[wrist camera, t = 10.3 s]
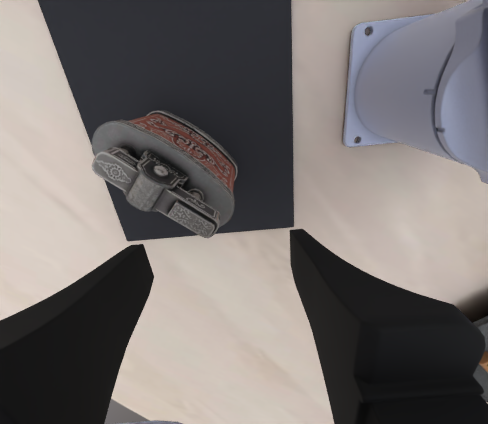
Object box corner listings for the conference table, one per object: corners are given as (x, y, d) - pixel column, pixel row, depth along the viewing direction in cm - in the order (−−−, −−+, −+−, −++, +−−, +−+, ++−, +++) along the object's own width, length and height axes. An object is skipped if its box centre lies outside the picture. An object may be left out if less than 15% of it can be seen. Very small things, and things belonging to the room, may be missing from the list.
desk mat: (289, -71, 14) (290, -75, 14) (293, 225, 23) (293, 227, 23) (29, -34, 15) (23, -37, 15) (128, 239, 24) (127, 241, 24)
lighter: (138, 136, 19) (45, 177, 10) (158, 98, 18) (72, 106, 9) (223, 193, 21) (207, 267, 12) (246, 162, 20) (247, 220, 11)
